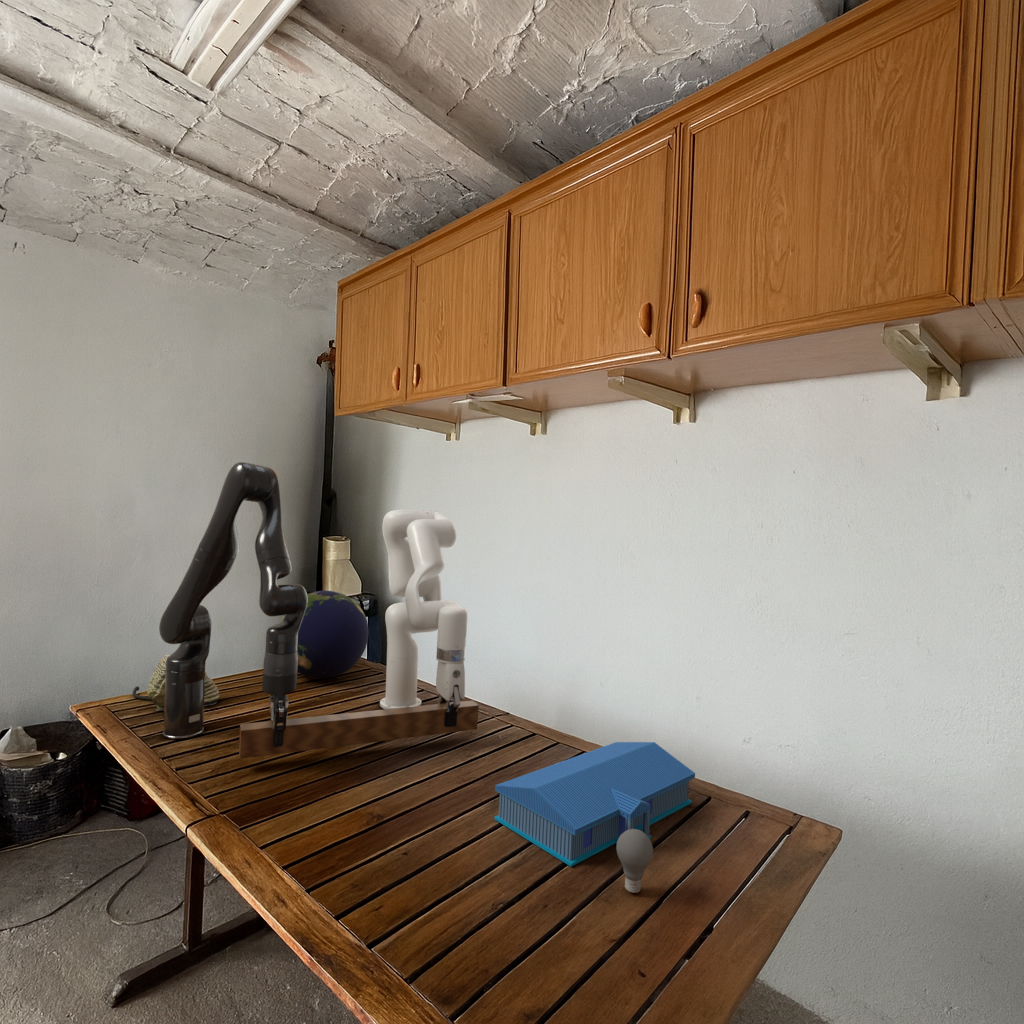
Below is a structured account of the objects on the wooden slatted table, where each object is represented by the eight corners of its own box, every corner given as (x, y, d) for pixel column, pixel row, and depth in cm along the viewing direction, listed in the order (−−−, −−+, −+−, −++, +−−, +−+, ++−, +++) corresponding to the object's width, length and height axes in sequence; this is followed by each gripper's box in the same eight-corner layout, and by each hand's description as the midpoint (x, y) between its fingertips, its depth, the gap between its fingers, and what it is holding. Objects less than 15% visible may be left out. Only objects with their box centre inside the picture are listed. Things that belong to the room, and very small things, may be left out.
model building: (584, 875, 109) (587, 817, 109) (492, 818, 128) (494, 769, 127) (705, 808, 136) (707, 762, 136) (614, 769, 154) (616, 728, 154)
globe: (256, 681, 211) (260, 592, 211) (316, 661, 239) (319, 582, 238) (330, 695, 200) (333, 601, 199) (383, 673, 228) (386, 590, 227)
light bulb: (610, 879, 108) (613, 822, 108) (644, 879, 109) (647, 822, 109) (619, 902, 102) (622, 840, 102) (655, 901, 103) (658, 840, 103)
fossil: (144, 707, 182) (145, 655, 182) (212, 696, 194) (213, 647, 194) (151, 716, 175) (153, 662, 175) (221, 703, 188) (223, 653, 188)
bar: (239, 758, 143) (240, 730, 143) (239, 751, 147) (240, 724, 146) (477, 729, 168) (478, 705, 168) (471, 723, 172) (473, 700, 171)
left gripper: (301, 677, 143) (297, 752, 143) (293, 660, 156) (290, 729, 156) (265, 680, 139) (261, 756, 140) (261, 662, 152) (257, 732, 153)
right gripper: (476, 662, 160) (472, 733, 160) (453, 645, 175) (449, 710, 176) (448, 664, 156) (444, 736, 157) (427, 646, 172) (423, 713, 172)
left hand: (276, 741), depth 148 cm, fingers closed on bar, 4 cm apart
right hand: (447, 722), depth 166 cm, fingers closed on bar, 4 cm apart
